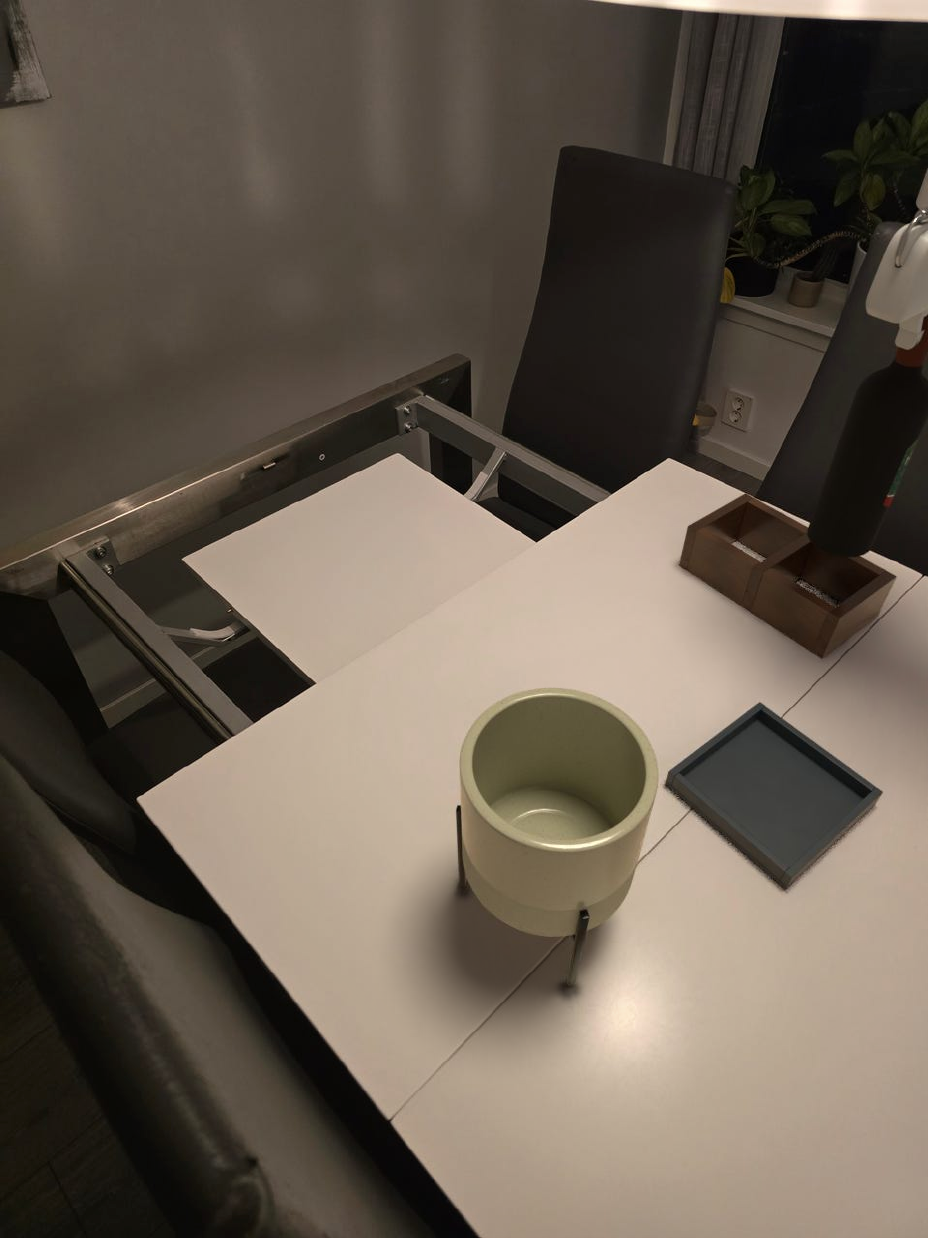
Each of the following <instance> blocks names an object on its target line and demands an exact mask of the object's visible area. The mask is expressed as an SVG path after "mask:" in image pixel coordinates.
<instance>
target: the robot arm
mask: <svg viewBox="0 0 928 1238" xmlns="http://www.w3.org/2000/svg"><path fill="white" fill-rule="evenodd" d="M915 205H916V207H917V208H918V210H917V212H916V213H915V214H914V216H913V217H914V218H913V219H912V220H911V221H910V223H907V224H905V225H903V226H902V227H900V228H899V229H898V230H897V231H896V232H895V233H894V235H893V237H892V238H891V240H890V241H889V243H888V245H887V247H886V249H885V252H884V253H883V256H882V258H881V260H880V263H879V266H878V268H877V270H876V272H875V274H874V278H873V279H872V283H871V285H870V287H869V290H868V293H867V296H866V299H865V310H866V313H867V315H869V316H871V317H874V318H876V319H879V320H883V321H885V322H889V323H891V324H896V325H897V324H898V327H899V329H898V332H897V335H896V336H895V340H894V345H896V347H897V348H898V347H901V348H904V349H906V350H909V349H911V348H913V347H915V346H916V345H918V344H919V343H920V341H921V337H922V336H923V333H924V331H925V329H922V323H923V318H924V317H925V316H927V314H928V167H927V168H926V172H925V174H924V178H923V181H922V184H921V185H920V189H919V192H918V195H917V197H916V200H915Z"/></svg>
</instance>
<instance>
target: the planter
mask: <svg viewBox="0 0 928 1238" xmlns="http://www.w3.org/2000/svg"><path fill="white" fill-rule="evenodd" d="M659 775H660V774H659V766H658V761H657V756H656V753H655V750H654V748H653V746H652V744H651V741H650V740H649V738H648V736H647V735H646V733H645V732H644V731H643V729H641V726H640V725H639V724H638V723H637V722H636V721H635V720H634V719H633V718H632V717H630V715H628V714H627V713H626V712H625V711H623V710H622V709H621V708H619V707H618V706H616V705H614V704H613V703H611V702H610V701H607V700H605V699H603V698H601V697H600V696H597V695H595V694H591V693H588V692H585V691H581V690H576V689H572V688H566V687H565V688H564V687H541V688H533V689H528V690H524V691H523V690H522V691H519V692H516V693H514V694H513V693H512V694H510V695H508V696H506V697H503V698H502V699H500V700H498V701H496V702H495V703H493V704H492V705H490V706H489V707H488V708H486V709H485V710H484V711H483V712H482V713H481V714H480V715H479V716H478V717H477V718H476V719H475V721H474V722H473V723H472V724H471V726H470V727H469V729H468V731H467V732H466V735H465V736H464V739H463V743H462V745H461V749H460V754H459V786H460V789H459V790H460V791H459V792H460V804H457V805H456V808H455V819H456V844H457V845H456V847H457V868H458V871H457V872H458V886H459V887H466V884H467V882H468V884H469V886H470V888H471V890H472V892H473V893H474V895H475V897H476V898H477V899H478V901H479V902H480V903H481V905H482V906H483V907H484V908H485V909H486V910H487V911H488V912H489V913H491V914H492V915H493V917H495V918H496V919H498V920H499V921H501V922H502V923H504V924H505V925H508V926H510V927H511V928H514V929H515V930H518V931H521V932H524V933H527V934H531V935H534V936H540V937H550V938H551V937H552V938H556V937H557V938H558V937H559V938H560V937H568V936H571V939H572V942H573V944H572V950H571V955H570V961H569V966H568V972H567V977H566V983H567V986H568V987H570V988H571V987H574V986H575V987H576V983H577V978H578V973H579V969H580V965H581V959H582V954H583V951H584V946H585V945H584V944H585V941H586V936H587V931H590V930H592V929H594V928H596V927H598V926H599V925H601V924H602V923H604V922H605V921H607V920H608V919H610V918H611V917H612V916H613V915H614V914H615V913H616V912H617V911H618V909H619V908H620V907H621V906H622V904H623V903H624V901H625V899H626V897H627V896H628V894H629V891H630V889H631V886H632V883H633V880H634V876H635V872H636V869H637V867H638V863H639V859H640V855H641V851H642V848H643V843H644V841H645V837H646V833H647V830H648V825H649V822H650V819H651V815H652V811H653V807H654V804H655V801H656V797H657V792H658V788H659Z"/></svg>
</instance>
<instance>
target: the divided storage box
mask: <svg viewBox="0 0 928 1238" xmlns="http://www.w3.org/2000/svg"><path fill="white" fill-rule="evenodd" d="M808 527H809V526H807V525H805V524H803V523H801V522H799V521H797V520H796V519H794V518H792V517H790V516H788V515H787V514H785V513H783V512H781V511H779V510H777V509H776V508H774V507H772V506H770V505H768V504H767V503H764V502H763V501H761V500H759V499H757V498H755V497H754V496H751V495H750V494H748V493H746V492H745V493H744V494H742V495H739V496H738V497H736V498H734V499H733V500H731V501H730V502H727V503H726V504H724V505H722V506H721V507H719V508H717V509H715V510H714V511H712V512H710V513H708V514H706V515H705V516H703V517H702V518H699V519H698V520H696V521H694V522H693V523H691V524H689V525H687V528H686V531H685V532H686V533H685V537H684V541H683V545H682V549H681V554H680V559H679V564H678V566H680V567H681V568H683V569H684V570H685V571H688V572H689V573H690V574H692V575H693V576H694V577H696V578H698V579H699V580H700V581H702V582H704V583H705V584H707V585H709V586H710V587H711V588H713V589H715V590H716V591H718V592H720V593H721V594H722V595H724V596H725V597H727V598H728V599H730V600H732V601H733V602H735V603H736V604H738V605H740V606H741V607H742V608H744V609H745V610H746V611H749V612H750V613H751V614H753V615H754V616H756V617H757V618H759V619H761V620H762V621H764V622H765V623H767V624H768V625H770V626H771V627H773V628H774V629H775V630H778V632H780V633H782V634H784V636H787V637H788V638H790V639H791V640H793V641H794V642H795V643H797V644H799V645H800V646H802V647H803V648H805V649H806V650H808V651H810V652H811V653H812V654H814V655H816V656H817V657H819V658H820V659H824V658H825V657H826V656H828V655H829V654H831V652H833V651H834V650H835V649H837V648H838V647H839V646H840V645H842V644H844V642H845V641H847V640H848V639H850V638H851V637H852V636H854V635H855V634H856V633H857V632H859V631H860V630H861V629H863V628H864V627H865V626H867V625H868V624H869V623H871V622H872V621H873V620H875V619H876V618H877V617H878V616H879V615H880V613H881V610H882V608H883V607H884V604H885V602H886V600H887V597H889V594H890V592H891V590H892V587H893V586H894V584H895V582H896V580H897V577H898V576H897V575H895V574H893V573H892V572H890V571H888V570H887V569H884V568H883V567H881V566H879V565H877V564H875V563H874V562H872V561H870V560H869V559H867V558H865V557H863V556H858V557H841V556H835V555H832V554H829V553H826V552H824V551H822V550H821V549H819V548H817V547H816V546H815V545H814V544H813V543H811V541H810V540H809V538H808V536H807V530H808ZM736 541H737V542H739V543H740V544H742V545H744V546H746V547H747V548H749V549H750V550H753V551H754V552H756V553H757V554H759V555H760V556H762V557H764V559H763V560H762V561H761V560H758V559H757V558H755V557H754V556H752V555H750V554H749V553H747V552H745V551H744V550H742V549H740V548H738V547H737V546H735V545H734V544H732V543H734V542H736ZM800 579H801V580H802V581H804V582H806V583H808V585H809V584H810V585H811V586H812V587H815V588H816V589H817V590H819V591H821V592H822V593H824V594H826V595H827V596H829V597H831V598H833V599H834V600H836V601H838V602H839V604H838V605H837V606H834V604H831V603H830V602H828V601H826V600H825V599H823V598H821V597H820V596H818V595H817V594H815V593H813V592H811V591H810V590H808V589H806V588H805V587H804V586H801V585H800V584H798V583H797V581H798V580H800Z"/></svg>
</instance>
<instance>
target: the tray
mask: <svg viewBox="0 0 928 1238" xmlns="http://www.w3.org/2000/svg"><path fill="white" fill-rule="evenodd" d="M664 784H665V785H666V786H667V787H668V788H669V789H670V790H671V791H672V792H674V793H675V795H677V796H678V797H679V798H681V799H682V801H684V802H685V803H686V804H687V805H688V806H689V807H691V808H692V809H693V810H694V811H695V812H696V813H698V814H699V815H700V816H701V817H702V818H703V819H704V820H705V821H706V822H708V823H709V824H710V825H711V826H713V828H714V829H716V830H717V831H718V832H719V833H720V834H721V835H723V837H725V838H726V839H727V840H728V841H729V842H731V843H732V844H733V845H734V846H735V847H736V848H737V849H739V850H740V851H741V852H742V853H743V854H744V855H745V856H747V857H748V858H749V859H750V860H751V861H752V862H753V863H755V865H757V866H758V868H760V869H762V871H764V872H765V874H767V875H768V876H770V877H771V878H772V880H774V881H775V882H776V883H777V884H778V885H780V886H781V887H782V888H783V889H784V890H787V889H788V888H789V887H790V886H791V885H792V884H793V883H794V882H796V880H798V878H800V877H801V876H802V875H803V874H804V873H805V872H806V871H807V870H808V869H809V868H811V866H812V865H813V864H814V863H816V862H817V861H818V859H820V857H822V856H823V855H824V854H825V853H826V852H827V851H828V850H829V849H830V848H832V846H833V845H835V844H836V842H838V840H840V839H841V838H843V836H844V835H845V834H846V833H847V832H849V830H850V829H851V828H853V827H854V826H855V824H857V823H858V822H859V821H860V820H861V819H862V818H864V816H865V815H867V813H868V812H870V811H871V809H873V808H874V806H876V804H877V802H878V801H879V800H880V798H881V796H882V795H883V793H884V791H883V790H881V789H880V788H879V787H878V786H875V784H873V783H871V782H870V781H869V780H867V779H866V778H865V777H863V776H862V775H860V774H859V773H858V772H856V770H854V769H852V768H851V767H850V766H848V765H847V764H845V763H844V762H843V761H841V760H840V759H839V758H838V757H836V756H835V755H834V754H832V753H831V752H829V751H828V750H827V749H825V748H824V747H823V746H821V745H819V744H818V743H817V742H815V741H814V740H813V739H811V738H810V737H808V736H807V735H806V734H804V732H801V731H800V730H799V729H798V728H796V727H795V726H793V725H792V724H790V723H789V722H788V721H787V720H786V719H784V718H783V717H781V716H780V715H778V714H777V713H776V712H775V711H773V710H772V709H770V708H769V707H768V706H766V705H765V704H763V703H762V702H761V701H759V702H758V703H756V704H754V706H752V707H751V708H750V709H748V710H747V711H746V712H745V713H743V714H742V715H740V716H739V717H737V718H736V719H735V720H734V721H732V722H731V723H729V725H727V726H726V727H724V728H723V729H722V730H721V731H719V732H718V733H716V734H715V735H714V736H712V738H710V739H709V740H708V741H706V742H704V744H702V745H701V746H700V747H698V748H697V749H696V750H694V751H693V752H692V753H690V754H689V755H688V756H686V757H685V758H684V759H683V760H680V761H679V762H678V763H677V764H675V765H674V766H673V767H672V768H671V769H669V770H668V772H667V775H666V779H665V782H664Z"/></svg>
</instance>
